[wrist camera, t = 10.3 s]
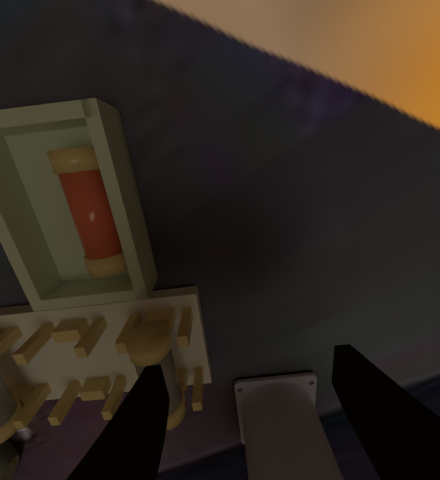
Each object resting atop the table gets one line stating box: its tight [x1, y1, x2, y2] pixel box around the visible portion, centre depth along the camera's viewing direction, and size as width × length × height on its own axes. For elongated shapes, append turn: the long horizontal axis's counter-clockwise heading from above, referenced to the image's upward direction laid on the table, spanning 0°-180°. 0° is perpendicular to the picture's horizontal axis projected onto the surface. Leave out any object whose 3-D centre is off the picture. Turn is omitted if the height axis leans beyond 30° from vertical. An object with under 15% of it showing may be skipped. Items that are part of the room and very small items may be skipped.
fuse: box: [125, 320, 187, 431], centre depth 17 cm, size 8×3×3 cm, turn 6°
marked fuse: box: [46, 147, 128, 278], centre depth 14 cm, size 8×3×3 cm
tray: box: [0, 98, 158, 311], centre depth 15 cm, size 12×8×3 cm, turn 6°
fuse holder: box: [0, 286, 212, 429], centre depth 19 cm, size 10×20×4 cm, turn 96°
